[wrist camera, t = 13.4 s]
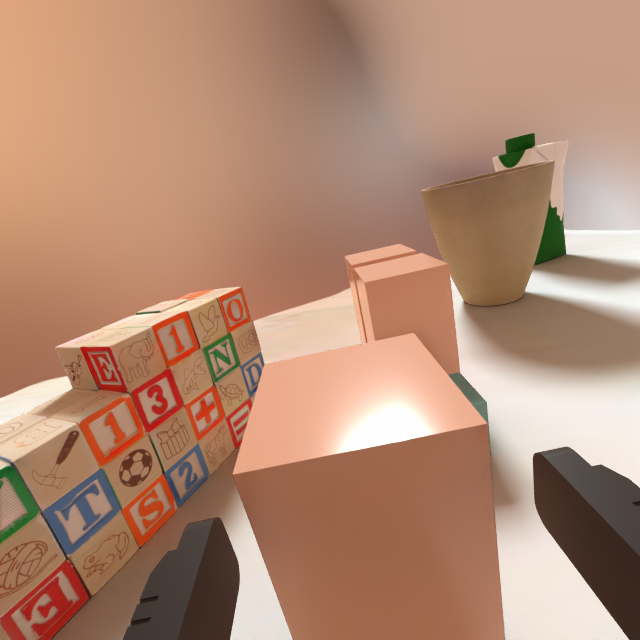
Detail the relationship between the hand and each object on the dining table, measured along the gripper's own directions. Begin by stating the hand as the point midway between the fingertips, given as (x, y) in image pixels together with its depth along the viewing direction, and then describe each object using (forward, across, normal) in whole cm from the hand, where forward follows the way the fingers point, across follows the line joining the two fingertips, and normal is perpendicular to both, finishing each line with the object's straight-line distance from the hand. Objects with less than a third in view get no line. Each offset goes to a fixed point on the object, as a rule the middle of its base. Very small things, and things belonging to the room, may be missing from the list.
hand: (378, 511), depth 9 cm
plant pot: (+39, -22, +10) cm, 46 cm away
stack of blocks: (+15, +15, +10) cm, 23 cm away
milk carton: (+54, -37, +10) cm, 66 cm away
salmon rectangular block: (+21, -6, +9) cm, 24 cm away
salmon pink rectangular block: (+3, 0, +9) cm, 10 cm away
